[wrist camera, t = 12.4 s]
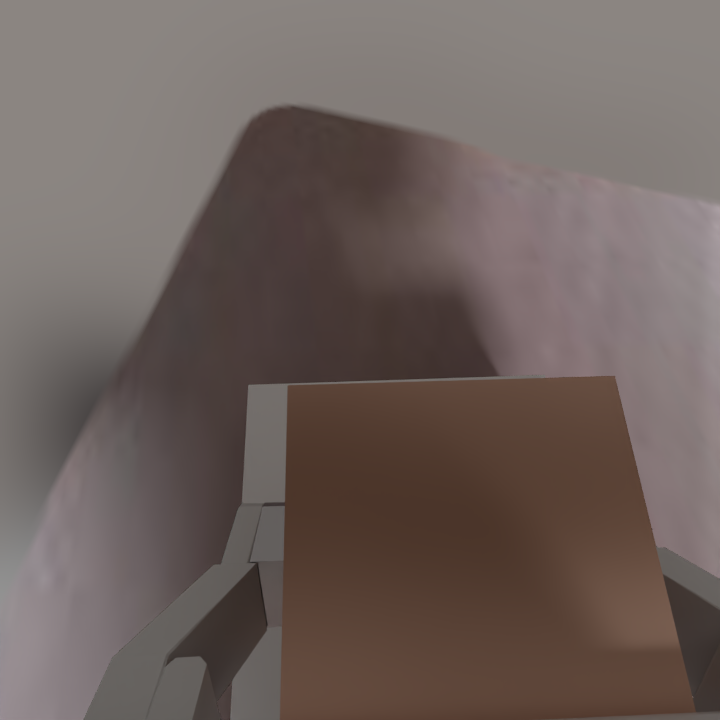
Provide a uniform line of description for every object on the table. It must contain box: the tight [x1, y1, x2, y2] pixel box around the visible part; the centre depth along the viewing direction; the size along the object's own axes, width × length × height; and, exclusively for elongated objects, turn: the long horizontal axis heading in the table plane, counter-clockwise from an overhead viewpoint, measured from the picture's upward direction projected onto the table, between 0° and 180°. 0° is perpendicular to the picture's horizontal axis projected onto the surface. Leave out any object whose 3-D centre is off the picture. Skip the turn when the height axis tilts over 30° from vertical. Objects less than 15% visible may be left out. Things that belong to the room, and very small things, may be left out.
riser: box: [230, 375, 545, 720], centre depth 18 cm, size 12×12×4 cm
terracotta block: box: [280, 376, 696, 720], centre depth 10 cm, size 5×5×9 cm
